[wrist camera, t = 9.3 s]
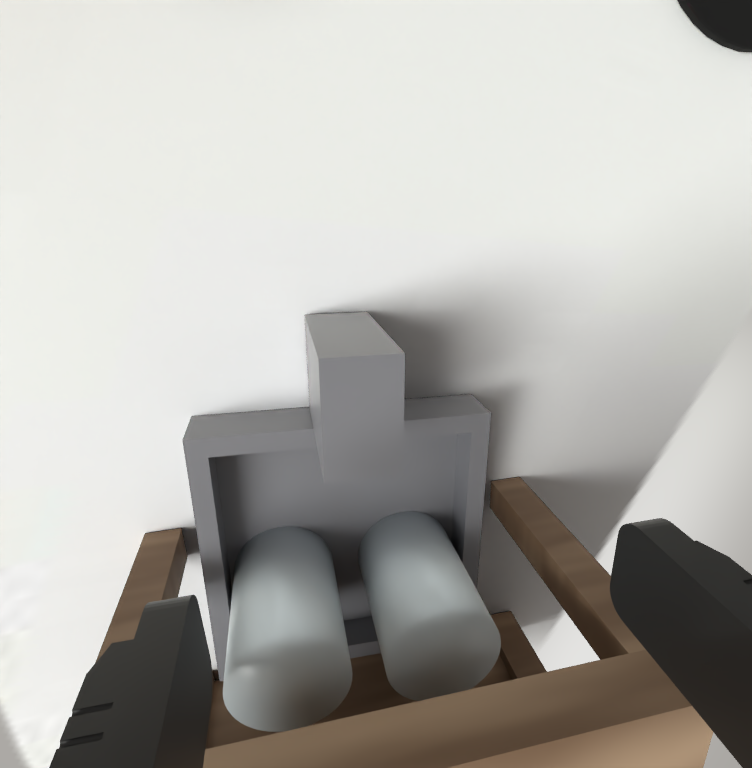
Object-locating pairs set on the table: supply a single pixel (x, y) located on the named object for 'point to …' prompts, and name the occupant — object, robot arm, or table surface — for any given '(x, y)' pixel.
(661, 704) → the small wooden table
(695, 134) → the table surface
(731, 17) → the wine glass
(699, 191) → the table surface
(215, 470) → the tray
